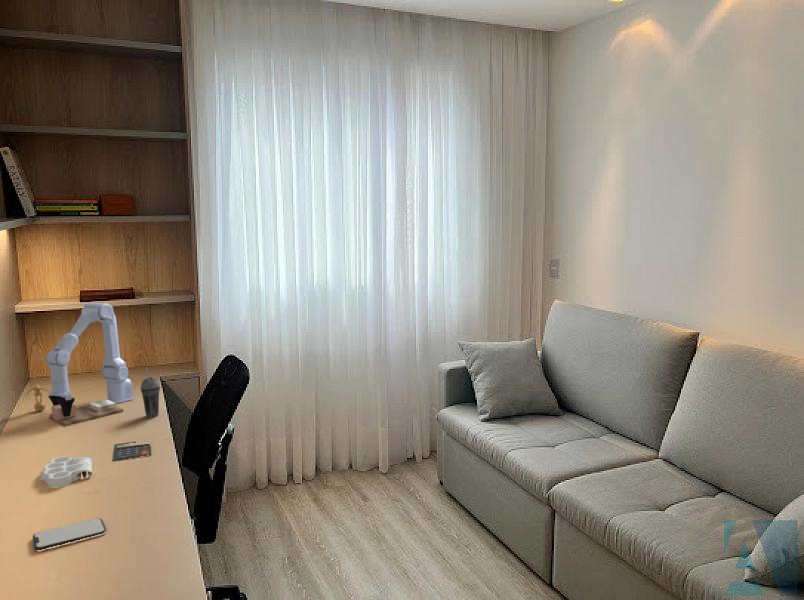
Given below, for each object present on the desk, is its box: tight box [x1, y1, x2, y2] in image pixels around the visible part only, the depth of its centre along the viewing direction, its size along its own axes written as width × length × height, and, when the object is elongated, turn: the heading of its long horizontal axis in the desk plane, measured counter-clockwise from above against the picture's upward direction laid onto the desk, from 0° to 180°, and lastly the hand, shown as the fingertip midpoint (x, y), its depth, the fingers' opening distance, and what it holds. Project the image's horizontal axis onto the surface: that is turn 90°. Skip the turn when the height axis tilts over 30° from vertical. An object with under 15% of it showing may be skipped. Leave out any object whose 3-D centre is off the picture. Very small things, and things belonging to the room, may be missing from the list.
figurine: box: [26, 383, 51, 412], centre depth 256 cm, size 8×6×12 cm
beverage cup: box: [140, 367, 161, 418], centre depth 250 cm, size 7×7×20 cm
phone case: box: [32, 518, 107, 551], centre depth 161 cm, size 9×2×16 cm
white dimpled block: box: [38, 456, 93, 488], centre depth 197 cm, size 3×18×15 cm
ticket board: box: [49, 398, 124, 427], centre depth 253 cm, size 22×16×3 cm
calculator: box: [112, 441, 152, 462], centre depth 216 cm, size 12×1×15 cm
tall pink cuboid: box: [51, 403, 77, 421], centre depth 247 cm, size 7×5×4 cm
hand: (62, 414), depth 246 cm, fingers open, 7 cm apart
